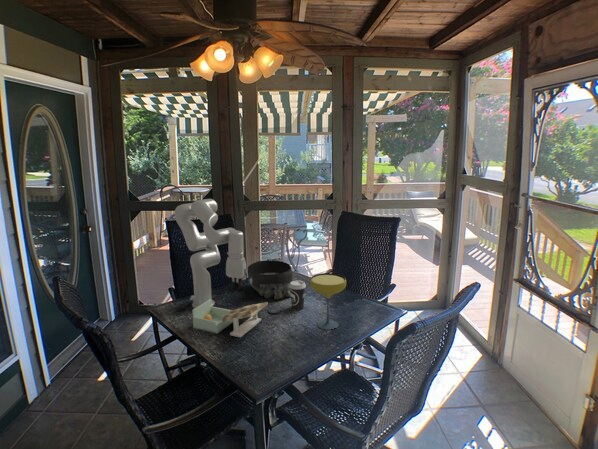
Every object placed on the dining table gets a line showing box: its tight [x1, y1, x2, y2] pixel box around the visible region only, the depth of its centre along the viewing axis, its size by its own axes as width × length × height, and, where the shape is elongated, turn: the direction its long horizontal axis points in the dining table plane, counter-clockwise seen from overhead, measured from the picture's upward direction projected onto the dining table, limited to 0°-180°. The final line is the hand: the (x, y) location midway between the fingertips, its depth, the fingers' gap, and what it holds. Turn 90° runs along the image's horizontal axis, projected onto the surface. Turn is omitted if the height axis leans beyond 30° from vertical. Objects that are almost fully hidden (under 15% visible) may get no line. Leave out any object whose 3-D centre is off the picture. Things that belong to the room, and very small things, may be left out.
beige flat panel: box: [222, 301, 269, 322], centre depth 191 cm, size 18×16×3 cm
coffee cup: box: [289, 280, 307, 311], centre depth 214 cm, size 10×10×15 cm
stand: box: [229, 304, 262, 338], centre depth 192 cm, size 6×20×9 cm, turn 155°
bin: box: [191, 299, 233, 334], centre depth 195 cm, size 15×15×10 cm
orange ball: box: [204, 314, 212, 320], centre depth 197 cm, size 4×4×4 cm
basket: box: [247, 259, 294, 300], centre depth 240 cm, size 28×35×16 cm
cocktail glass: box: [309, 272, 347, 331], centre depth 192 cm, size 18×18×25 cm
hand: (236, 288), depth 197 cm, fingers closed
